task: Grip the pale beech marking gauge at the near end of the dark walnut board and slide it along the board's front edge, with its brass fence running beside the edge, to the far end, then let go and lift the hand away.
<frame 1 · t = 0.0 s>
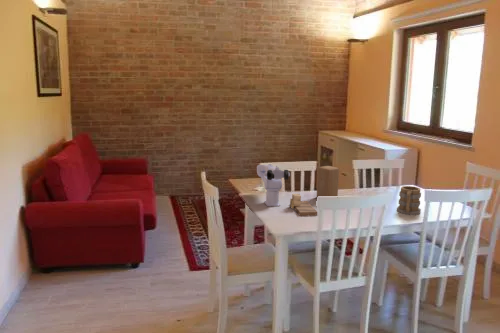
hand: (280, 176, 246), 22 cm above the table, tool horizontal, fingers open, 7 cm apart
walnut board: (303, 209, 260), on the table
wooden block: (326, 198, 286), on the table
tankard: (407, 213, 258), on the table
marking gauge: (296, 204, 263), point 2 cm above the table, touching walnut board
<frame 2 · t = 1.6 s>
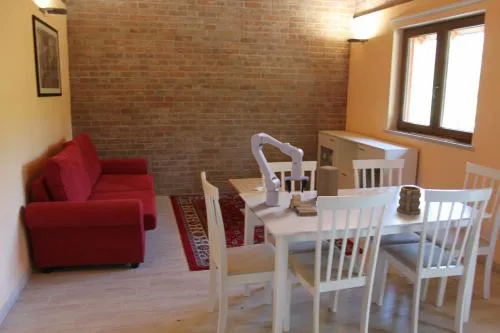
hand: (295, 192, 261), 9 cm above the table, tool pointing down, fingers open, 7 cm apart
nothing on the table moved.
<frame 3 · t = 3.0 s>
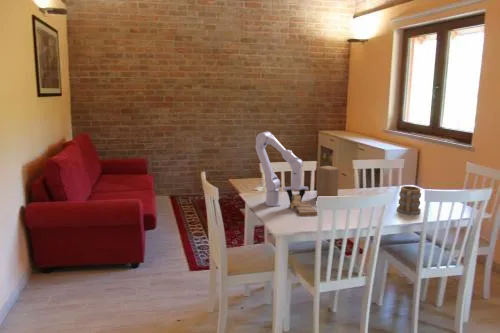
hand: (295, 202, 263), 3 cm above the table, tool pointing down, fingers closed on marking gauge, 5 cm apart
marking gauge: (296, 204, 263), point 2 cm above the table, touching gripper, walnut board
everything else where it was.
when the fingers open (3 cm above the table, at t = 7.6 s): marking gauge stays where it is, resting on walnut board.
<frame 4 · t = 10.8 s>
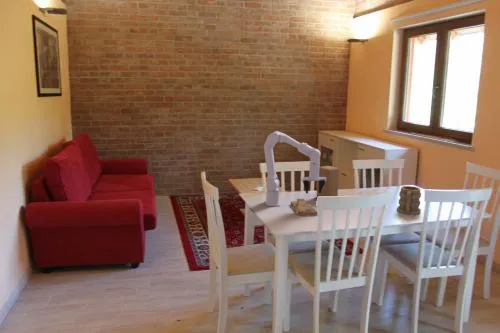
hand: (313, 193, 261), 9 cm above the table, tool pointing down, fingers open, 7 cm apart
marking gauge: (300, 210, 252), point 2 cm above the table, touching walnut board
everything else where it was.
at the end: marking gauge 0.0 cm from the target spot, point 2.0 cm above the table; marking gauge tilted 0°; the gripper is holding nothing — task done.
